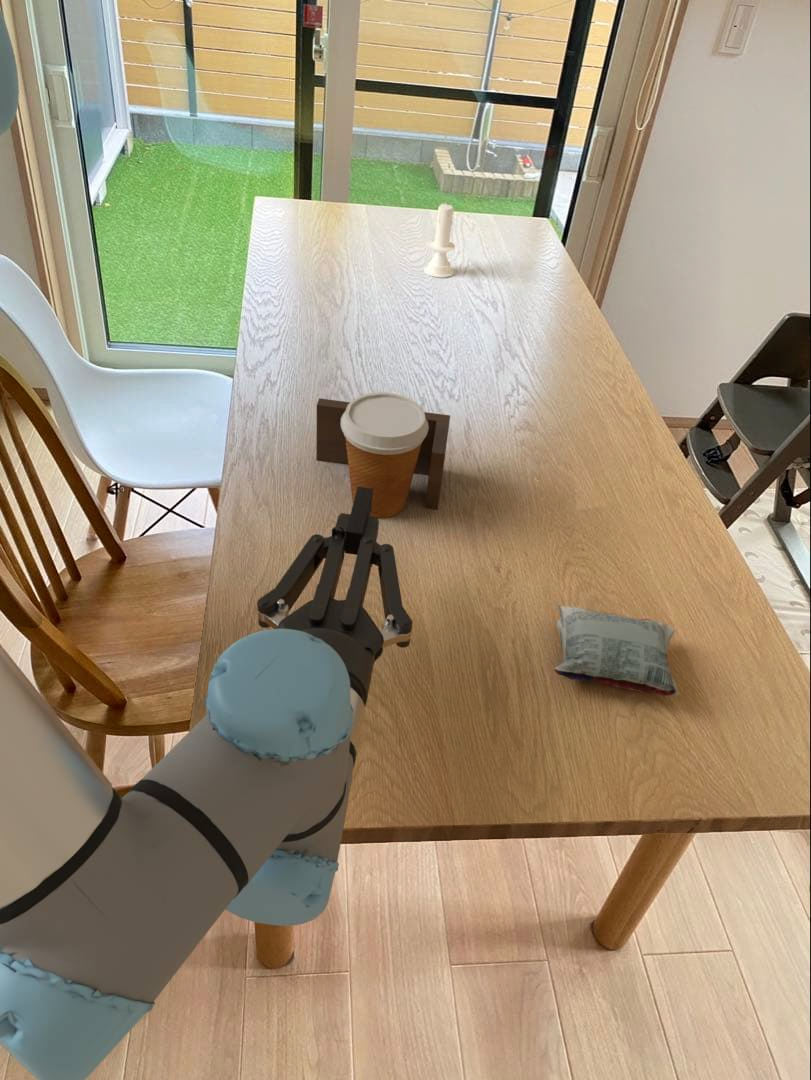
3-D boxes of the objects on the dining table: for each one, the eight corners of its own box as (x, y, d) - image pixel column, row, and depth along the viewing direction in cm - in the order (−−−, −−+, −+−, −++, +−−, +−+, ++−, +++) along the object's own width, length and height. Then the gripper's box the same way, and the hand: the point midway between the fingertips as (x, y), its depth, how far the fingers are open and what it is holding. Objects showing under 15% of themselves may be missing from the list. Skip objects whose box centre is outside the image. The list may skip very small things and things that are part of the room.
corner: (437, 509, 91) (445, 454, 86) (305, 491, 92) (305, 435, 86) (442, 469, 97) (450, 415, 92) (318, 453, 98) (319, 398, 92)
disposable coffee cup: (321, 495, 92) (322, 408, 83) (383, 466, 97) (389, 381, 89) (374, 539, 87) (381, 450, 79) (436, 505, 92) (448, 419, 84)
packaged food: (551, 619, 80) (561, 586, 76) (668, 640, 79) (684, 608, 76) (547, 688, 73) (559, 655, 70) (675, 712, 73) (692, 679, 69)
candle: (418, 267, 141) (425, 198, 133) (445, 264, 143) (453, 196, 135) (432, 279, 138) (439, 210, 130) (458, 276, 140) (467, 207, 131)
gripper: (232, 714, 61) (298, 518, 78) (399, 739, 60) (427, 536, 78) (226, 653, 56) (297, 457, 73) (407, 679, 55) (436, 477, 73)
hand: (364, 498), depth 75 cm, fingers closed
